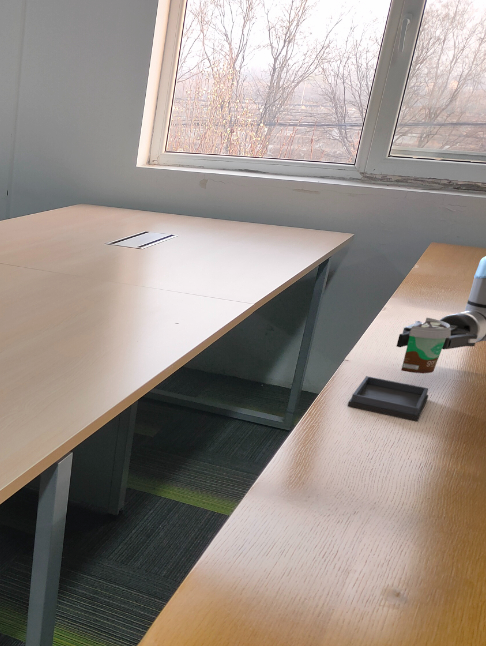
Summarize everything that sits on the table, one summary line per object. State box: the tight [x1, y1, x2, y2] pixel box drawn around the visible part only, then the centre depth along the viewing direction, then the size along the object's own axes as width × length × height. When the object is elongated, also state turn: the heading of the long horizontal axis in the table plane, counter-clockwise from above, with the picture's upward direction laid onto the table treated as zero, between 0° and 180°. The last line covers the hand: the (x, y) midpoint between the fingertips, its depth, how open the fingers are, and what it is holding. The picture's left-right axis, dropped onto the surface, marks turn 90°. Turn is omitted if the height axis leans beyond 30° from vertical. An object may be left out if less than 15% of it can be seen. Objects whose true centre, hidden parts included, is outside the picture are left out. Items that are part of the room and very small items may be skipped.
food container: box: [400, 317, 451, 374], centre depth 170 cm, size 12×6×10 cm, turn 136°
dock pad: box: [347, 375, 429, 422], centre depth 164 cm, size 12×16×2 cm
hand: (406, 342), depth 169 cm, fingers closed on food container, 2 cm apart
